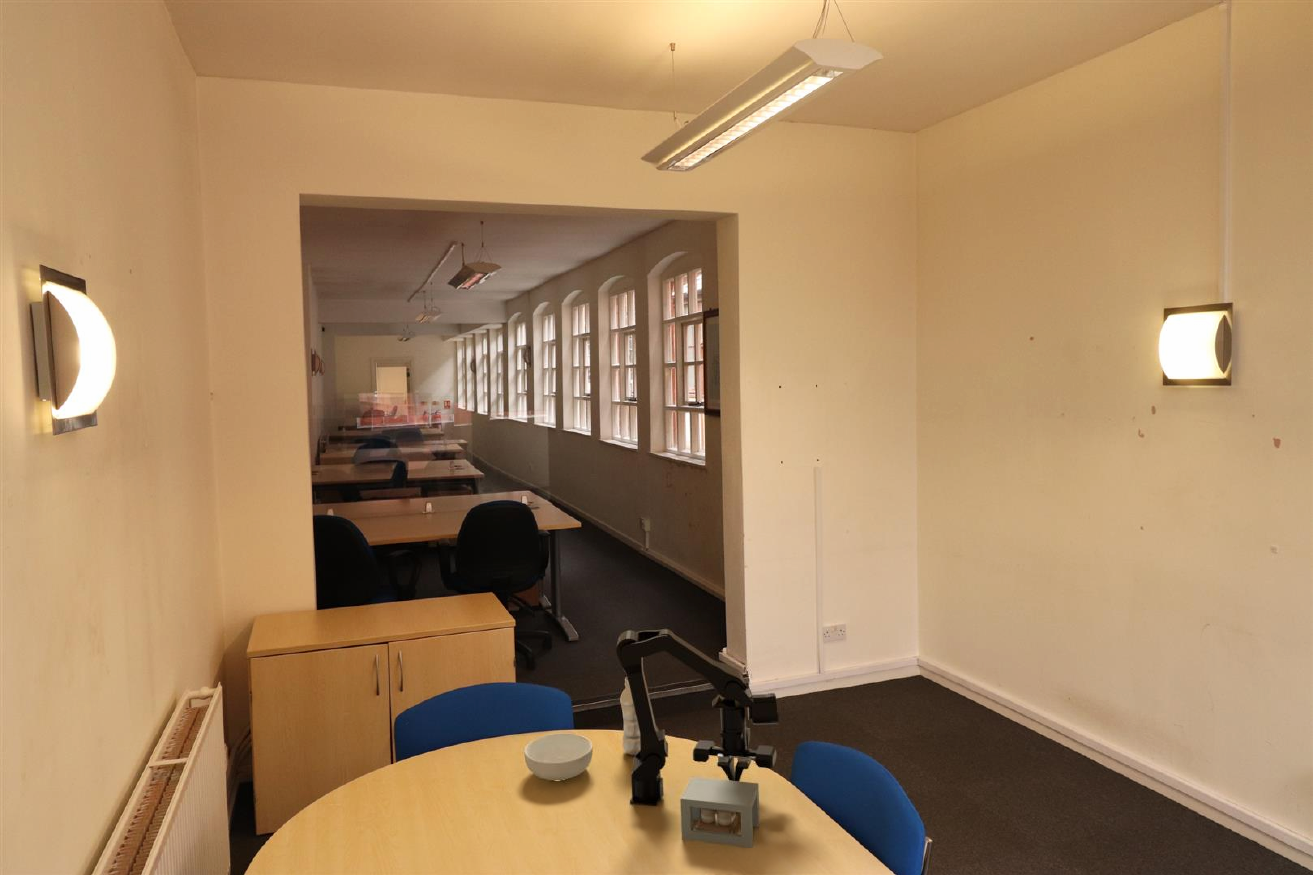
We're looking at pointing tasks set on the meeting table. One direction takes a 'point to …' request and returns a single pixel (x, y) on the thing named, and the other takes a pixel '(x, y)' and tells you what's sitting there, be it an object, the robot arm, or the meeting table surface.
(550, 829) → the meeting table surface
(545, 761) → the cereal bowl
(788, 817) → the meeting table surface
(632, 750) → the plastic bottle
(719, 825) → the glasses tray
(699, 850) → the meeting table surface
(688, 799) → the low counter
